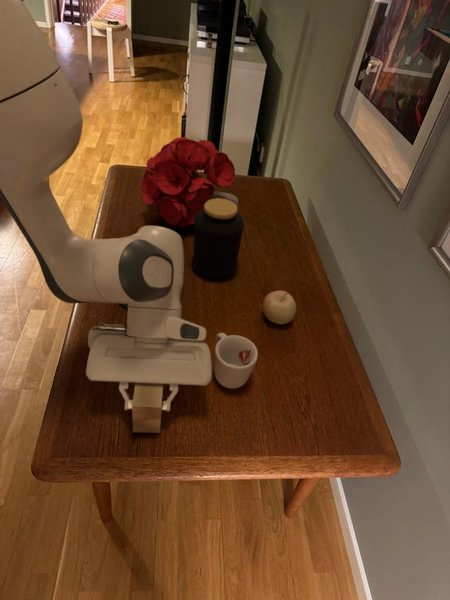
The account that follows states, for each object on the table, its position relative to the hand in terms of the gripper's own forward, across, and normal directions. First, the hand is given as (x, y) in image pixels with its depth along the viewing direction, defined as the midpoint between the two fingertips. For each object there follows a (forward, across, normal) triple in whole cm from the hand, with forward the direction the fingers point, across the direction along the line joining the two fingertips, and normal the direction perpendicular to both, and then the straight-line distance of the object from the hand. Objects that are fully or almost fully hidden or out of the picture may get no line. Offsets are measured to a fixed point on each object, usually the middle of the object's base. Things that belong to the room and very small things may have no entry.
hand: (147, 410), depth 66 cm
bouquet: (-45, +7, +52) cm, 69 cm away
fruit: (-16, +27, +23) cm, 39 cm away
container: (-28, +12, +35) cm, 47 cm away
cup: (-5, +14, +12) cm, 19 cm away
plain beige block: (+3, 0, +4) cm, 4 cm away
